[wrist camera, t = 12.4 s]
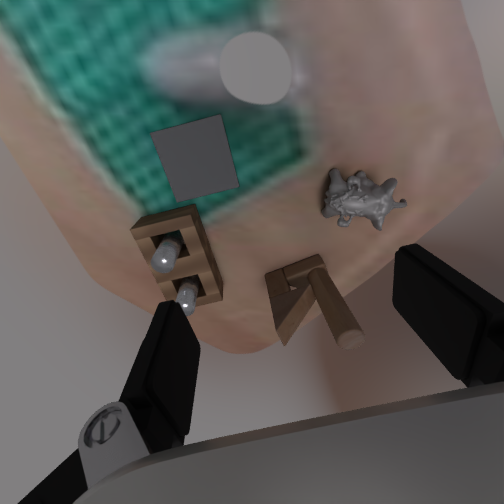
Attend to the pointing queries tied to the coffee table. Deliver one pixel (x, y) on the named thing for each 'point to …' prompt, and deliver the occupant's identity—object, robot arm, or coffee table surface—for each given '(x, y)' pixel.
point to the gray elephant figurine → (360, 199)
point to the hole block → (181, 252)
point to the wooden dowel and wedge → (310, 302)
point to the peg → (167, 252)
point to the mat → (196, 158)
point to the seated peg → (188, 293)
